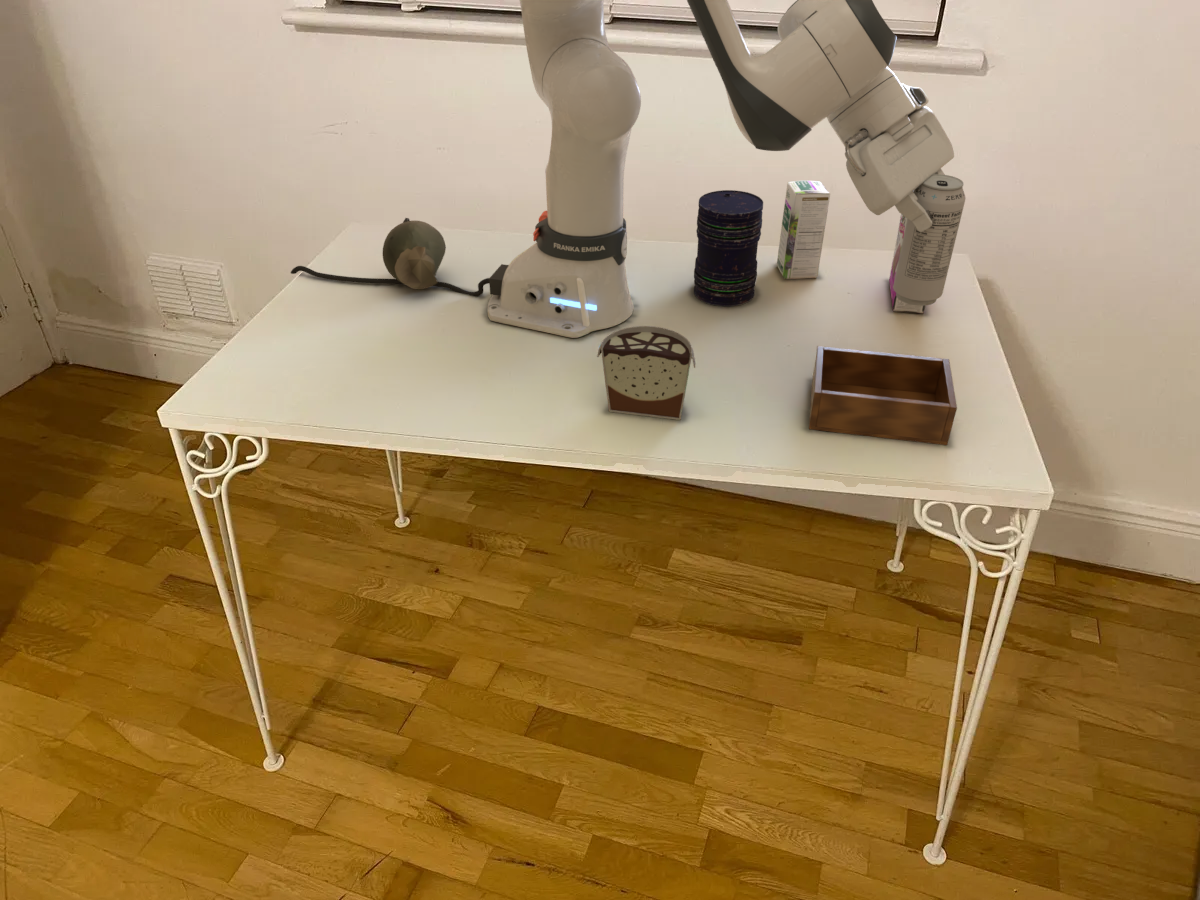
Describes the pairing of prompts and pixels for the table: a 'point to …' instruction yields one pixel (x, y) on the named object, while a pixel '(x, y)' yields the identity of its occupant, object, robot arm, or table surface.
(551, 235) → the robot arm
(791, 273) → the syrup box
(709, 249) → the blue barrel
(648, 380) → the food container
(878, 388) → the wooden tray
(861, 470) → the table surface
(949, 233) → the energy drink can
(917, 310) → the candy bar box
